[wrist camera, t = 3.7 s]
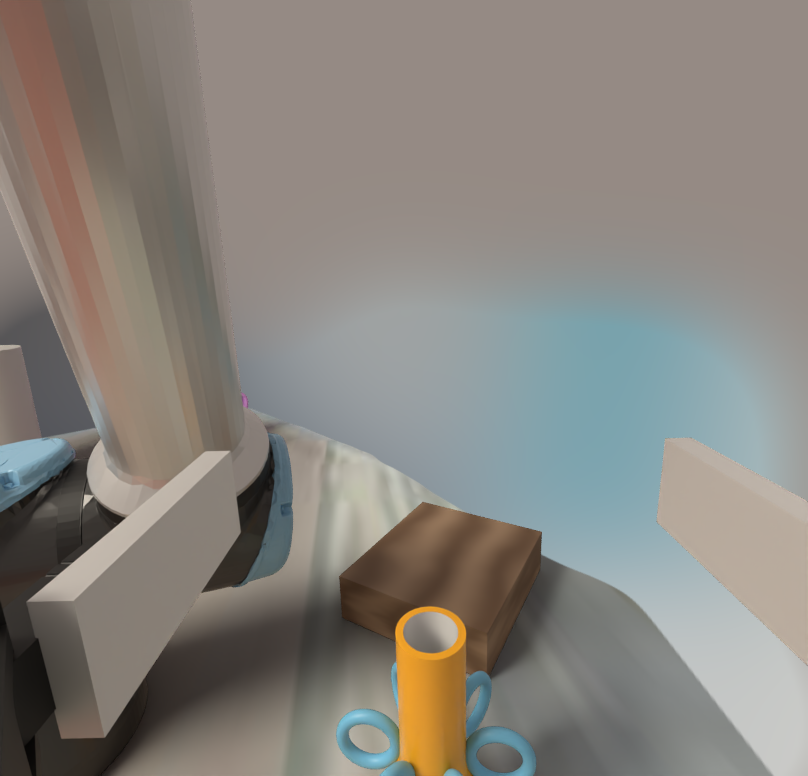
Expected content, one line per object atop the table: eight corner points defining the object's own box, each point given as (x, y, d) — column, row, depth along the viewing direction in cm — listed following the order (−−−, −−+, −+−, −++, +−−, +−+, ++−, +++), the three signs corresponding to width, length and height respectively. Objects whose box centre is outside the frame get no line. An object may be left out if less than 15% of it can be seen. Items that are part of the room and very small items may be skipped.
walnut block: (342, 617, 48) (339, 576, 46) (423, 534, 63) (422, 502, 61) (486, 681, 39) (487, 633, 38) (540, 569, 54) (541, 531, 53)
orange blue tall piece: (314, 919, 25) (291, 700, 22) (362, 737, 35) (351, 567, 32) (543, 970, 23) (557, 736, 20) (525, 760, 33) (532, 581, 30)
